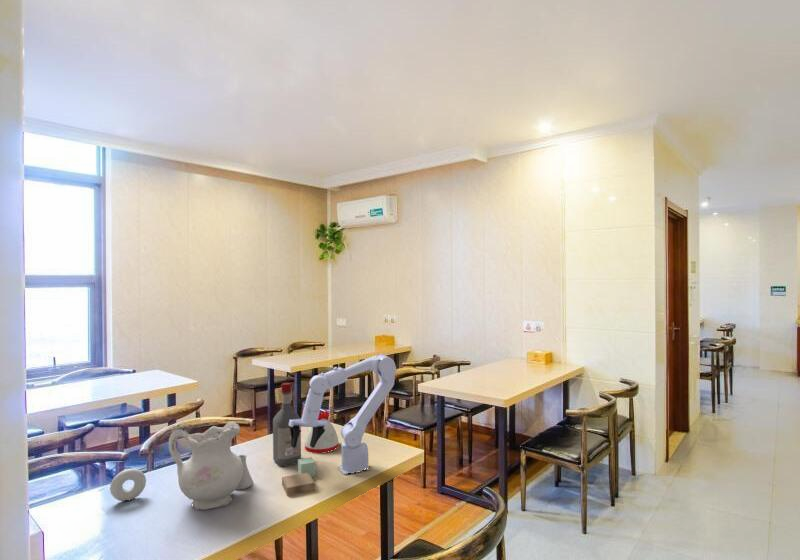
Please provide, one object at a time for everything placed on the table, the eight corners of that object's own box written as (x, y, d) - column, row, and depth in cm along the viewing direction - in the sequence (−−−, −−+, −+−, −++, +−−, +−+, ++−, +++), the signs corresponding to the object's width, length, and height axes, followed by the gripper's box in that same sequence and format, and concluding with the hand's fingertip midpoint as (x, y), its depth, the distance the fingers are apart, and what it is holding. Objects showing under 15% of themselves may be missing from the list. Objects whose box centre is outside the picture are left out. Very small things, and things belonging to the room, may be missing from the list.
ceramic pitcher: (169, 527, 133) (169, 443, 131) (168, 494, 150) (168, 419, 148) (247, 509, 143) (248, 431, 141) (238, 480, 160) (238, 410, 158)
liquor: (303, 462, 176) (302, 384, 175) (279, 468, 170) (278, 387, 170) (294, 454, 183) (293, 379, 183) (271, 460, 178) (270, 383, 178)
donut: (110, 507, 143) (109, 475, 143) (109, 502, 146) (109, 471, 145) (146, 498, 148) (146, 467, 148) (145, 493, 151) (145, 463, 151)
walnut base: (308, 480, 160) (308, 472, 160) (314, 491, 152) (314, 482, 152) (282, 485, 157) (281, 477, 157) (287, 497, 149) (287, 488, 149)
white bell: (345, 446, 192) (344, 410, 192) (319, 456, 182) (318, 418, 182) (324, 438, 201) (323, 404, 201) (298, 447, 191) (297, 411, 191)
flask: (245, 491, 152) (245, 461, 152) (226, 489, 154) (225, 459, 154) (257, 481, 159) (256, 453, 159) (238, 480, 161) (237, 451, 161)
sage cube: (311, 470, 168) (311, 457, 168) (315, 475, 164) (314, 461, 164) (298, 473, 166) (297, 459, 166) (301, 478, 161) (300, 464, 161)
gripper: (324, 406, 172) (315, 442, 172) (289, 404, 164) (279, 442, 163) (333, 412, 167) (324, 449, 166) (297, 410, 158) (287, 450, 157)
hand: (302, 446), depth 164 cm, fingers open, 7 cm apart
